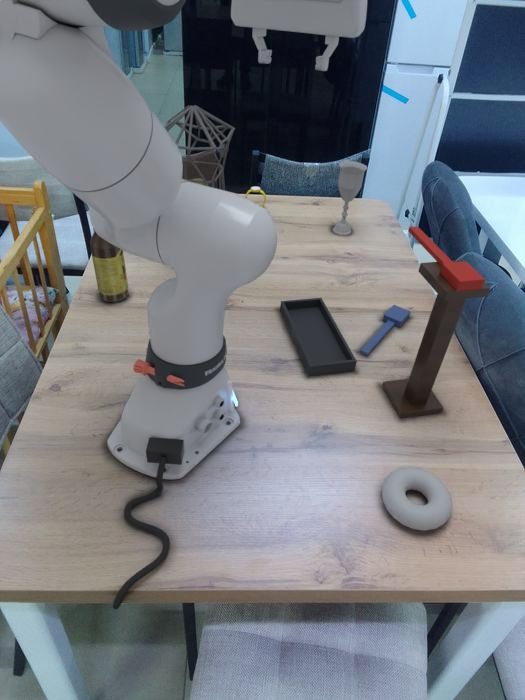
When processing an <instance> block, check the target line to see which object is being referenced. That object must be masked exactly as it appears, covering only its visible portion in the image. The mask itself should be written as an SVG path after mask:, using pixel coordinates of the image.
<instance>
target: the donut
mask: <svg viewBox="0 0 525 700" xmlns="http://www.w3.org/2000/svg"><path fill="white" fill-rule="evenodd" d="M411 490H412V491H416V492H420V493H421V494H422V495H423V496H424V497H425V498H426V499H427V503H426V504H424V505H421V504H418V503H417V504H416V503H415V502H413V501H411V500H410V499H409V498H408V496H407V495H406V493H407V491H411ZM381 495H382V496H381V497H382V498H381V499H382V502H383V503H384V506H385V509H386V511H387V512H388V513H389V514H390V515H391V516H392V518H393V519H395V521H397V522H398V523H400V524H401V525H402V526H405V527H407V528H410V529H412V530H418V531H429V530H430V531H431V530H436V529H438V528H440V527H441V526H443V525H444V524H445V523H446V522H447V521H448V520H449V518H450V517H451V515H452V509H453V500H452V499H453V498H452V494H451V492H450V490H449V488H448V486H447V484H445V483H444V482H443V481H442V480H441V478H440V477H438V475H436V474H435V473H433V472H431V471H430V470H427V469H424V468H422V467H416V466H404V467H399V468H397V469H395V470H393V471H391V472H390V473H389V474H388V475H387V476H386V477H385V479H384V482H383V485H382V488H381Z"/></svg>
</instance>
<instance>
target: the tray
mask: <svg viewBox="0 0 525 700" xmlns="http://www.w3.org/2000/svg"><path fill="white" fill-rule="evenodd" d="M279 312H280V315H281V317H282V319H283V321H284V324H285V326H286V328H287V331H288V332H289V335H290V337H291V340H292V342H293V344H294V347H295V348H296V351H297V353H298V355H299V358H300V360H301V363H302V365H303V367H304V368H305V372H306V374H307V376H308V377H314V376H323V375H331V374H339V373H340V374H341V373H348V372H354V371H356V366H357V362H358V361H357V359H356V357H355V355H354V354H353V352H352V350H351V348H350V346H349V344H348V343H347V341H346V339H345V337H344V336H343V334H342V331H341V330H340V328H339V326H338V325H337V323H336V321H335V319H334V318H333V316H332V314H331V312H330V310H329V308H328V307H327V305H326V303H325V301H324V300H323V298H322V297H312V298H302V299H301V298H300V299H290V300H289V299H288V300H281V301H280V305H279Z"/></svg>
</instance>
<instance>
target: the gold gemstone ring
mask: <svg viewBox="0 0 525 700" xmlns="http://www.w3.org/2000/svg"><path fill="white" fill-rule="evenodd" d="M251 192H252V193H260V194H261V195H262V196H263V203H262V204H259V205H260V206H262V207H264V206H265V204H266V202H267V195H266V193H265V192H264V190H262V189H261V187H260V186H256V185H255V186H251V187H250V189H248V190H247V192H246V194H245V197H244V198H246V199H248V195H250V193H251Z"/></svg>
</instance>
